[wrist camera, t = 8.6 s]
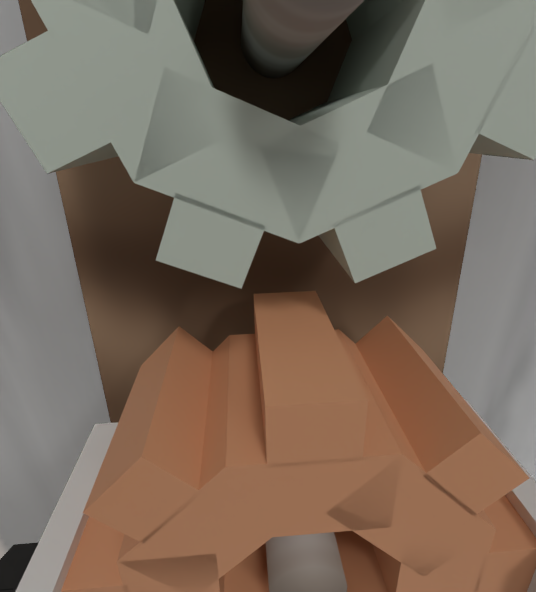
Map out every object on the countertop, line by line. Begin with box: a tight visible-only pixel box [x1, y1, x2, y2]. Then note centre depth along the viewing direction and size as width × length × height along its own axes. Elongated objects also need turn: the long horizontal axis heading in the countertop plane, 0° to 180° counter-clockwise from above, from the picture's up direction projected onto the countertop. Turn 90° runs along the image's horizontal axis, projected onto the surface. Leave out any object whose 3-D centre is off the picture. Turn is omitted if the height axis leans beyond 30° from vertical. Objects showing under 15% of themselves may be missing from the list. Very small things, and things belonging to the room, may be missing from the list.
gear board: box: [18, 0, 482, 592], centre depth 11 cm, size 20×13×9 cm, turn 1°
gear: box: [0, 0, 536, 289], centre depth 9 cm, size 11×11×5 cm
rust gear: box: [61, 291, 536, 592], centre depth 11 cm, size 11×11×5 cm
